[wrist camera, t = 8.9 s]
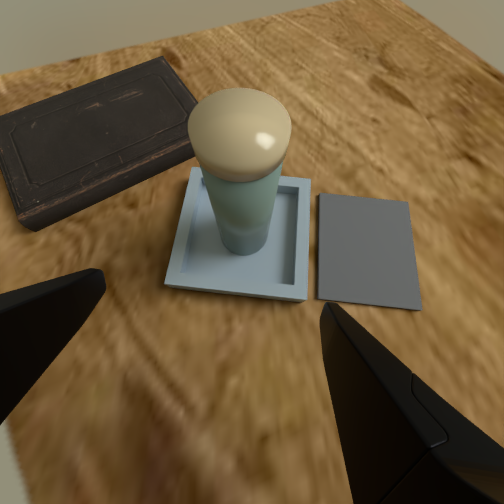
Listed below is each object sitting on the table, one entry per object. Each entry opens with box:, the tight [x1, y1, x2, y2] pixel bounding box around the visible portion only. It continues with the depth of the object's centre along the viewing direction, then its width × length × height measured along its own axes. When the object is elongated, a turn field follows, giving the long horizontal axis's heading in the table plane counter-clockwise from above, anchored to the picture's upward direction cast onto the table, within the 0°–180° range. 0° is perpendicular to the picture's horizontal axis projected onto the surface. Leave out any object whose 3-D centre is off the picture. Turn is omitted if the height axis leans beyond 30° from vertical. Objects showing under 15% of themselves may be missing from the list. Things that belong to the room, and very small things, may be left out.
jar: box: [188, 88, 291, 255], centre depth 18 cm, size 5×5×13 cm
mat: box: [317, 193, 422, 311], centre depth 24 cm, size 12×10×1 cm
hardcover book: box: [0, 56, 198, 232], centre depth 28 cm, size 16×23×2 cm
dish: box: [164, 167, 311, 302], centre depth 24 cm, size 13×13×2 cm
